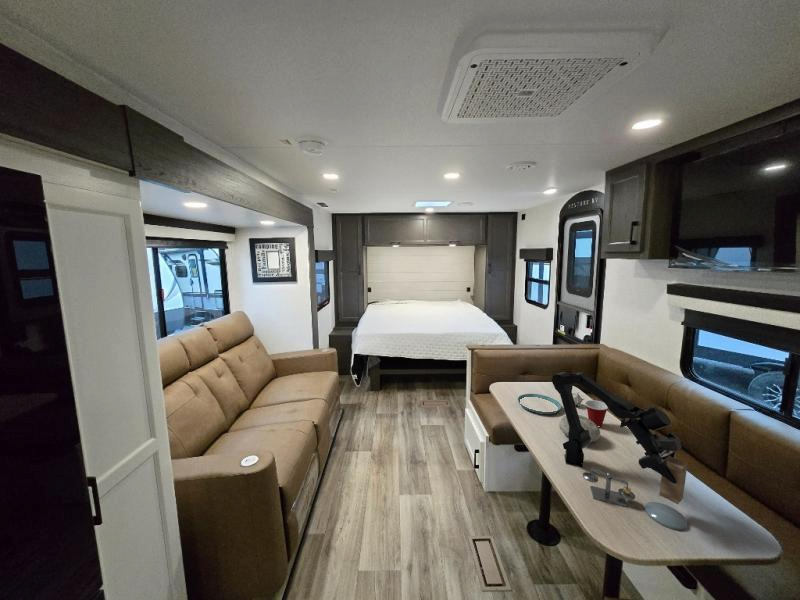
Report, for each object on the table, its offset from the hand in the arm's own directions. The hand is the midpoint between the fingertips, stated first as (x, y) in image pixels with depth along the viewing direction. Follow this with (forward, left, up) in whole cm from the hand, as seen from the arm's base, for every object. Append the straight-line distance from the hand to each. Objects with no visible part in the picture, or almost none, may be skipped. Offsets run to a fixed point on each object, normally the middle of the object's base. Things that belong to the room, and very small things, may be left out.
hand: (678, 480), depth 107 cm
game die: (-20, +83, -14) cm, 86 cm away
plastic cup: (-13, +61, -14) cm, 63 cm away
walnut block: (-1, +1, -7) cm, 7 cm away
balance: (-19, +2, -13) cm, 24 cm away
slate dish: (-3, -1, -13) cm, 14 cm away
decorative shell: (-23, +44, -14) cm, 51 cm away
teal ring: (-41, +72, -14) cm, 84 cm away
